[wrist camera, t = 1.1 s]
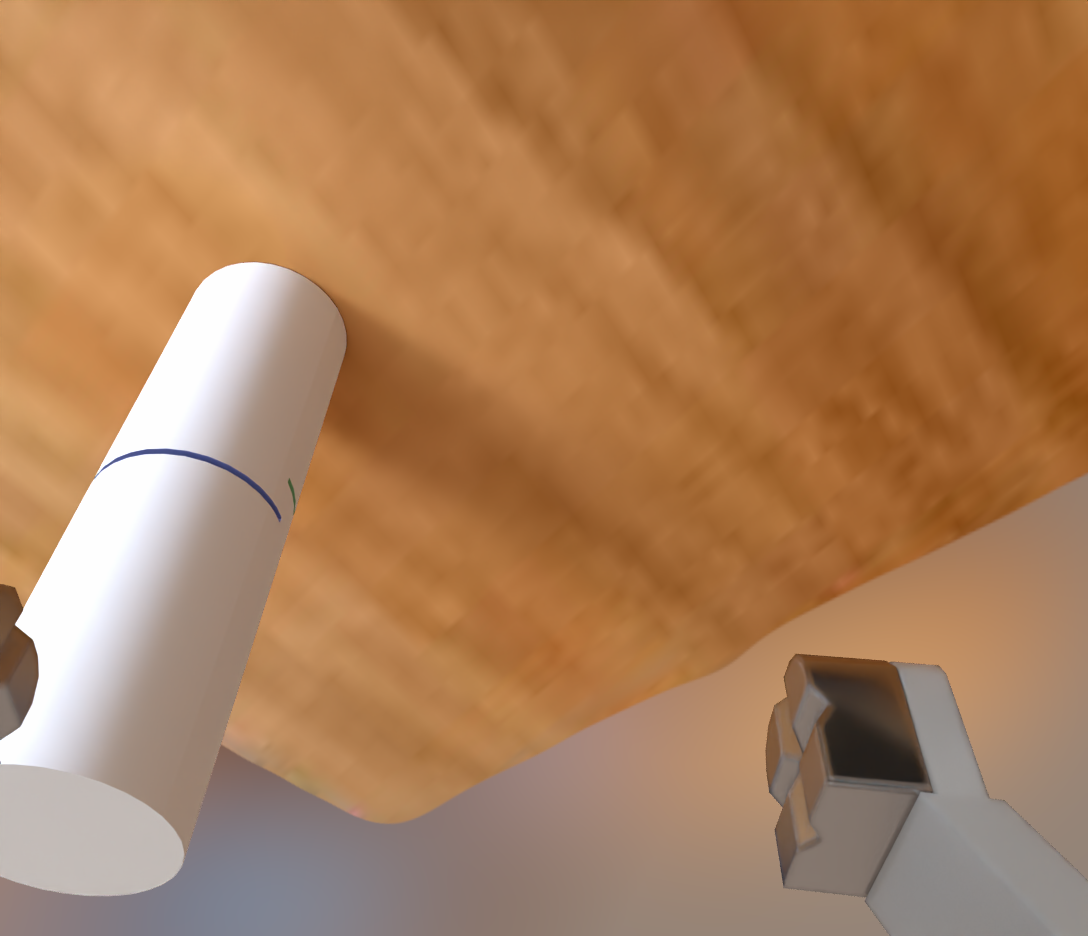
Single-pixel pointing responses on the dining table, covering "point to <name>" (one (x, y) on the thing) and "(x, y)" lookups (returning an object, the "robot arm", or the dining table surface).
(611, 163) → the dining table surface
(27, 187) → the dining table surface
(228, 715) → the cylindrical container
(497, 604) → the dining table surface
